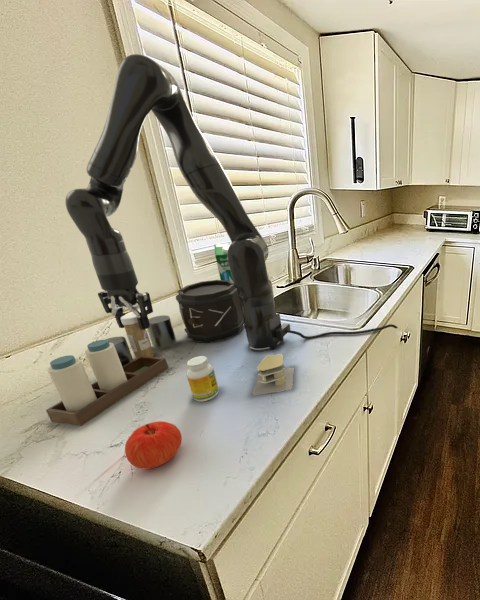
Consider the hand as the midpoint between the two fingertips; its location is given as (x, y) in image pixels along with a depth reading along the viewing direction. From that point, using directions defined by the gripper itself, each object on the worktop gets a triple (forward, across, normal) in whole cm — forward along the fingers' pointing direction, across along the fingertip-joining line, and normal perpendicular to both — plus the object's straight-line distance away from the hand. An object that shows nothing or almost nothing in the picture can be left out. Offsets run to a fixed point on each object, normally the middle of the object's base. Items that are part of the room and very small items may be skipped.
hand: (134, 327), depth 90 cm
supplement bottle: (+10, -30, +12) cm, 34 cm away
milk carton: (+10, -4, -38) cm, 39 cm away
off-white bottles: (+9, -8, +19) cm, 22 cm away
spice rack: (+10, -8, +15) cm, 20 cm away
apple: (+10, -35, +30) cm, 47 cm away
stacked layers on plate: (+10, -43, +4) cm, 44 cm away
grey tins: (+10, 0, 0) cm, 10 cm away
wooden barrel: (+10, -9, -18) cm, 22 cm away
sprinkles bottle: (+10, 0, 0) cm, 10 cm away
